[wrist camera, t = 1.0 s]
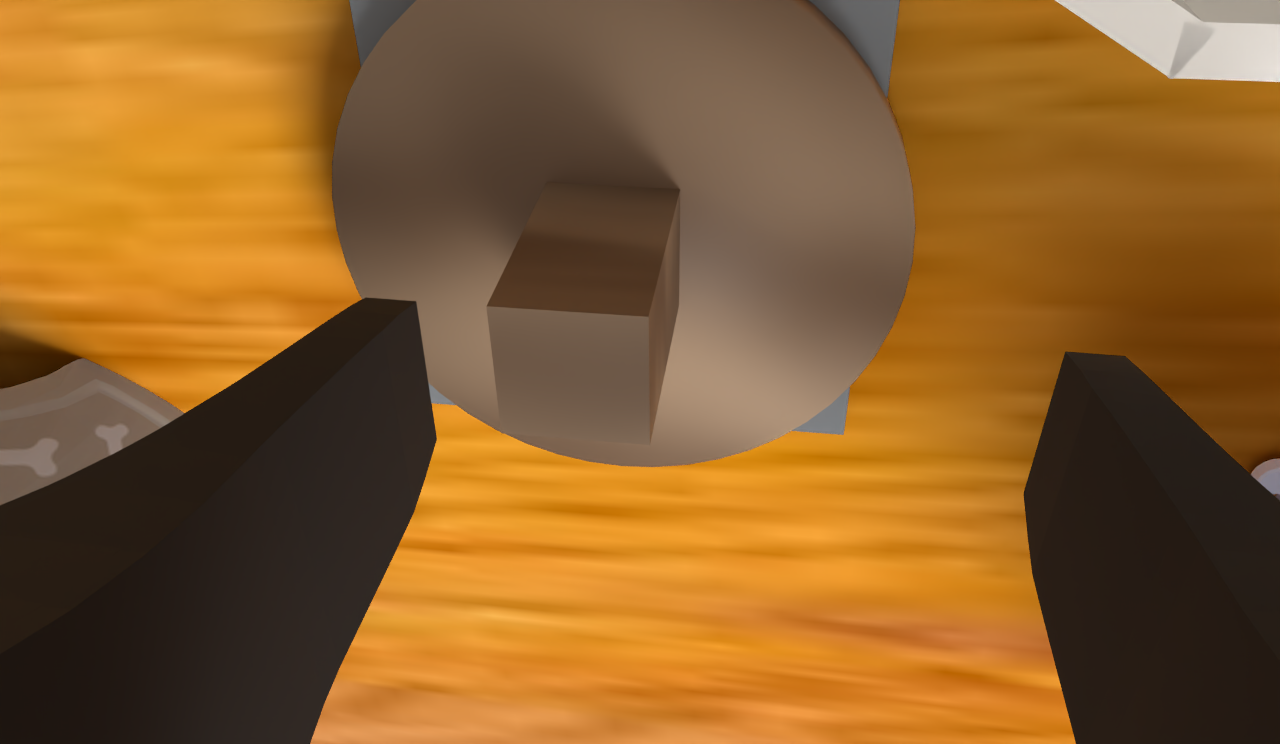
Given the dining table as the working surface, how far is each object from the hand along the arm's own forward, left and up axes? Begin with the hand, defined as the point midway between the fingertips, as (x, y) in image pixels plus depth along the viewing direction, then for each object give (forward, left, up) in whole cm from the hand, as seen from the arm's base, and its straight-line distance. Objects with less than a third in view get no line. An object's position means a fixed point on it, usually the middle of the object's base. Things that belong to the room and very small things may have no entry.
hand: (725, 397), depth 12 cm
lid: (-3, +3, -9) cm, 10 cm away
